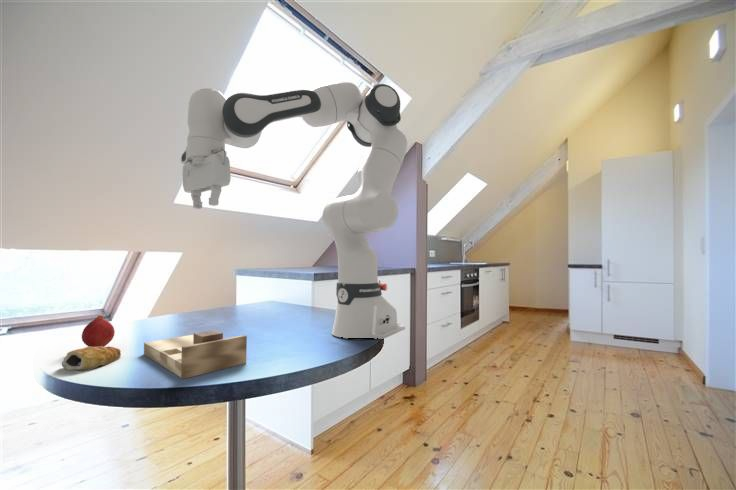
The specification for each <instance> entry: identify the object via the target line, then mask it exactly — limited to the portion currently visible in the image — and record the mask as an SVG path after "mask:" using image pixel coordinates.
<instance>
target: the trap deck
mask: <svg viewBox="0 0 736 490" xmlns="http://www.w3.org/2000/svg"><path fill="white" fill-rule="evenodd" d="M193 336H194V334H189V335H182V336H177V337H171V338H165V339H159V340H153V341H146V342H143V355H145V356H146V357H148V358H149V359H150V360H152V361H154V362H155V363H158V364H159V365H160V366H162V367H164V368H165V369H166V370H168V371H170V372H172V373H173V374H175V375H176V376H178V377H179V378H180V379H183V380H185V379H188V378H192V377H197V376H199V375H201V376H202V375H205V374H208V373H213V372H216V371H220V370H224V369H228V368H232V367H236V366H240V365H244V364H247V345H248V343H247V339H248V337H247V336H248V335H246V334H242V335H237V336H230V337H227V338H223V339H220V340H215V341H209V342H204V343H198V344H193Z"/></svg>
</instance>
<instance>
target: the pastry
mask: <svg viewBox="0 0 736 490" xmlns="http://www.w3.org/2000/svg"><path fill="white" fill-rule="evenodd" d="M121 352H122V351H121V349H120V348H117V347H114V346H110V345H109V346H104V347H103V346H97V347H93V346H85V347H83V348H78V349H74V350H71V351H69V352H67V354H66V355H65V356H64V357H63V360H62V361H61V367H63V369H64V370H66V369H67V371H87V369H89V370H92V369H97V368H98V367H100V366H102V367H103V366H107V365H108V364H111V363H113V362H116V361H117V360H119V359H120V358H121V354H122V353H121ZM106 364H107V365H106Z"/></svg>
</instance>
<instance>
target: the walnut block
mask: <svg viewBox="0 0 736 490" xmlns="http://www.w3.org/2000/svg"><path fill="white" fill-rule="evenodd" d="M193 335H194V336H193V344H198V343H204V342H209V341H215V340H220V339H224V333H223V332H221V331H218V330H215V329H212V330H206V331H200V332H194V333H193Z"/></svg>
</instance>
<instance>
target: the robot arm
mask: <svg viewBox="0 0 736 490" xmlns="http://www.w3.org/2000/svg"><path fill="white" fill-rule="evenodd" d="M295 118H301V119H302V120H303V121H304V122H305V123H306V124H307V125H308V126H310V127H312V128H319V127H326V126H330V125H333V124H336V123H340V122H344V121H345V122H346V121H347V122H346V127H347V129H348V130H349V132H350V133H351V135H352V137H353V139H354V140H355V141H356V142H357V143H358V144H359V145H360V146H363V147H366V148H367V147H368V150H367V153H366V154H365V156H364V158H363V160H362V162H361V164H360V166H359V168H358V170H357V173H356V176H357V179H358V182H359V183H360V184H359V185H360V186H359V188H358V190H357V191H356V192H355V193H354V194H350V195H345V196H340V197H337V198H335V199H333V200H331V201H330V202H328V203H326V205H325V207H324V208H323V212H322V221H323V224H324V226H325V227H326V228H327V229H328V231H330V233H331V235H332V237H333V240H334V244H335V247H336V248H335V249H336V254H337V282H336V287H335V288H336V289H335V290H336V291H335V293H336V298H337V302H336V305H335V315H334V321H333V326H332V331H331V335H333V336H334V337H337V338H341V337H343V338H342V339H348V338H374V340H383V339H387V338H388V337H391V336H393V335H396V334H398V333H400V332H402V331H404V330H406V325H404V324H402V323H399V322H398V316H397V315H398V314H397V310H396V308H395V307H394V306H393V305H392V304H391V303H390V302H389V301H388V300H386V299H385V298H384V297H383V294H382V293H383V292H384V291H385V292H386V291H387V290H388V284H387V283H381V282H380V283H379V282H378V277H379V276H378V273H379V272H378V270H379V269H378V266H379V265H378V264H379V263H378V262H379V260H378V255H377V253H376V252H375V250H374V249H373V248H372V247H371V246H370V244H369V241H368V239H367V234H368V233H378V232H381V231H383V230H388V229H389V228H392V226H394V225H395V223H396V221H397V220H398V219H397V218H398V214H399V208H398V203H397V201H396V199H395V197H394V196H393V195H392V190H393V186H394V185H395V184H394V183H395V181H396V179H397V176H398V175H399V172H400V170H401V167H402V165H403V162H404V159H405V155H406V151H407V147H408V140H407V136H406V135H405V134H404V133H403V131H401V130H399V129H398V127H397V124H399V123H400V122H401V118H402V117H401V98H400V96H399V94H398V92H397V91H396V89H395V88H394V87H392V86H391V85H388V84H384V83H378V84H376V85H374V86H372V87H371V88H370V89H369V91H367V93H366V94H365V97H364V96H363V95H362V92H361V91H360V89H359V87H358V86H357V85H356V84H355V83H353V82H349V81H348V82H347V81H345V82H344V81H343V82H342V81H341V82H332V83H325V84H321V85H318V86H314V87H309V88H305V89H297V90H293V91H292V90H290V91H285V92H280V93H279V92H278V93H273V94H266V95H265V94H264V95H262V94H261V95H260V94H253V93H247V92H246V93H245V92H238V93H235V94H232V95H230V96H229V97H228V98H227V97H225V96H224V95H223V93H222V92H220V91H219V90H218V89H217V90H216V89H214V88H201V89H198V90H195V91H194V92H192V94H191V95H190V98H189V102H188V108H187V126H188V130H189V131H188V135H187V139H186V140H187V141H186V147H185V150H184V152H183V153H182V154H181V156H180V163H181V164H183V166H182V187H183V190H184V192H185V193H186V194H187V193H188V194H190V196H191V199H192V206H193V207H192V208H193V209H194V210H195V209H197V210H199V209H202V208H203V201H202V199H201V196H202V193H203V192H208V191H210V197H208V204H209V206H214V207H215V206H218V205H219V199H220V197H221V196H220V195H221V193H222V188H223V187H228V186H229V185H230V184H231V183H230V182H231V180H232V179H231V163H230V158H229V157H228V156H227V151H226V145H228V146H233V147H236V148H239V149H249V148H252V147H253V146H256V144H257V143H258V142H259V140H260V138H261V135H262V132H263V130H264V129H265V128H266V127H267V126H269V125H270V124H272V123H275V122H281V121H285V120H289V119H295ZM366 233H367V234H366ZM382 291H383V292H382ZM377 338H378V339H377Z"/></svg>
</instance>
